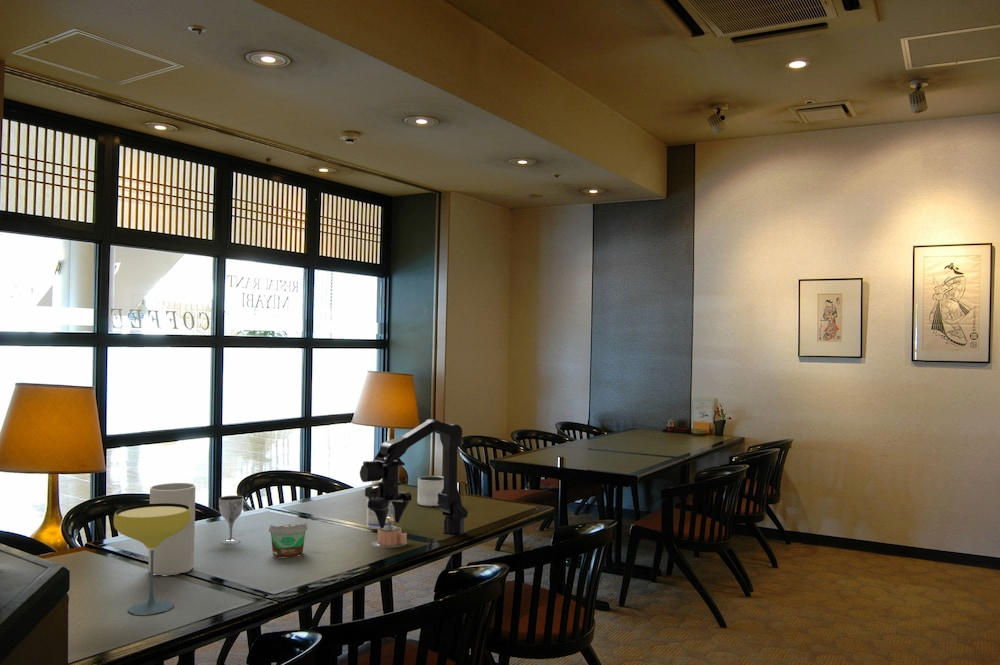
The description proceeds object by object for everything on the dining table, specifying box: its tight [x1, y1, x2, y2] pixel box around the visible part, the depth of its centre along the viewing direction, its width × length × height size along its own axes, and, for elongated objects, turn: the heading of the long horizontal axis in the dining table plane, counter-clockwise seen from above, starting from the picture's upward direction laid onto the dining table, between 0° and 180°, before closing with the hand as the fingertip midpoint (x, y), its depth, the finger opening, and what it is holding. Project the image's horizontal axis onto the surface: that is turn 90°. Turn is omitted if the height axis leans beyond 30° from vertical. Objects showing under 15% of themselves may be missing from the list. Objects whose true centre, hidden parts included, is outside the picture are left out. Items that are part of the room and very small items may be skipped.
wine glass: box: [218, 495, 244, 541], centre depth 268 cm, size 8×8×15 cm
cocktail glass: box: [113, 503, 191, 615], centre depth 200 cm, size 18×18×25 cm
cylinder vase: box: [148, 482, 196, 575], centre depth 233 cm, size 12×12×25 cm
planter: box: [416, 475, 444, 507], centre depth 335 cm, size 12×12×11 cm
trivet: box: [371, 540, 408, 549], centre depth 266 cm, size 12×12×1 cm
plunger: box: [386, 516, 395, 532], centre depth 266 cm, size 5×5×8 cm
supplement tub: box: [366, 485, 394, 530], centre depth 291 cm, size 10×10×15 cm
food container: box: [268, 521, 308, 558], centre depth 251 cm, size 12×6×10 cm, turn 117°
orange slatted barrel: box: [377, 525, 408, 546], centre depth 266 cm, size 10×8×5 cm
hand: (389, 525), depth 266 cm, fingers open, 9 cm apart
